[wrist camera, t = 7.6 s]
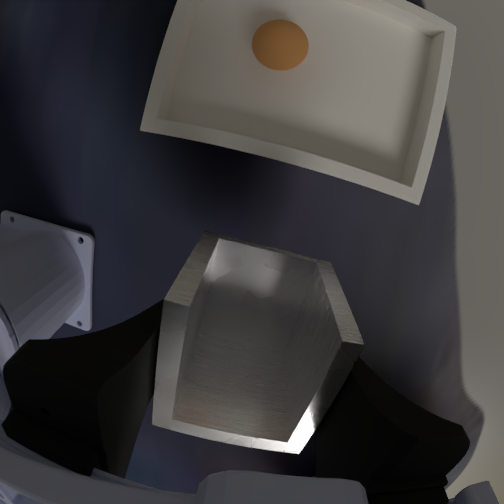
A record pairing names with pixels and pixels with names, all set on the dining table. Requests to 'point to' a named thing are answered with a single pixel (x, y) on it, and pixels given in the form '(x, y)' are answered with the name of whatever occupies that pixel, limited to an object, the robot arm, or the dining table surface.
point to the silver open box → (252, 345)
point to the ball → (280, 44)
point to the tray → (310, 87)
